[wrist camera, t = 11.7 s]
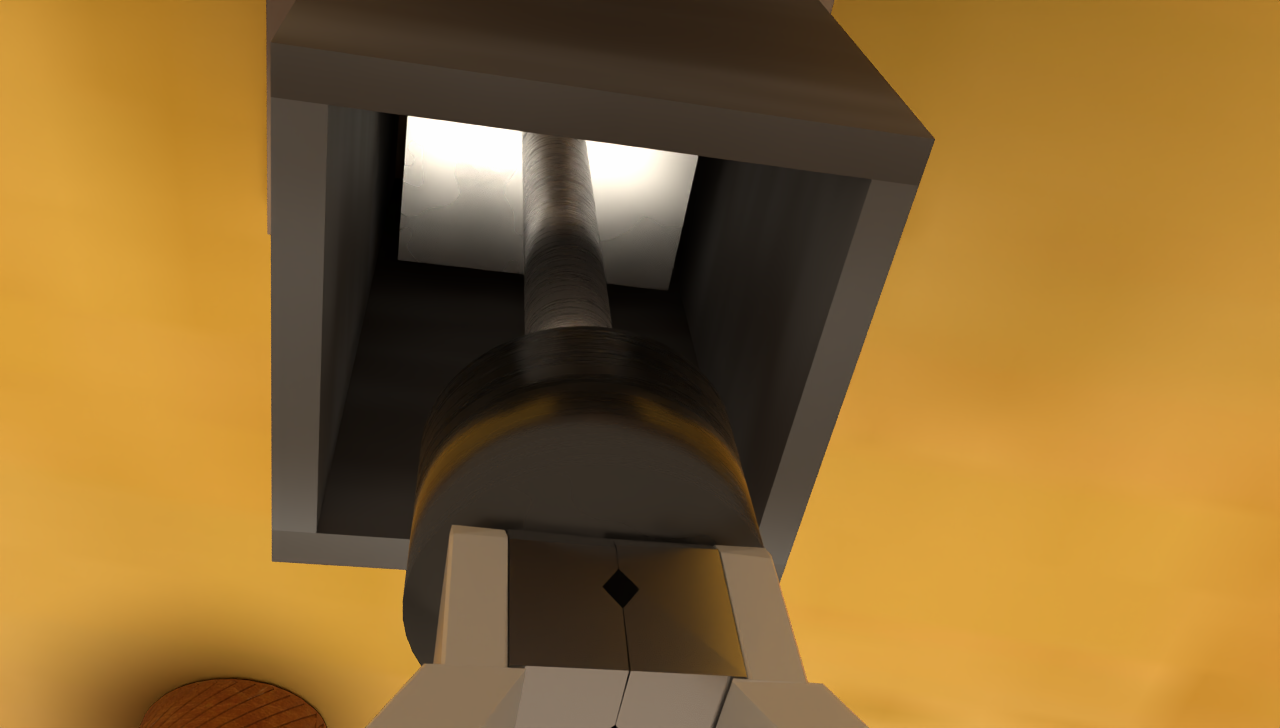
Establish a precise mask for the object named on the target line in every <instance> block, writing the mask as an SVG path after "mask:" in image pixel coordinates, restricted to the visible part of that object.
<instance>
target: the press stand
mask: <svg viewBox="0 0 1280 728" xmlns="http://www.w3.org/2000/svg"><path fill="white" fill-rule="evenodd" d="M833 4H834V0H266V20H267V226H268V234H270V235H271V415H272V561H273V562H289V563H305V564H321V565H337V566H353V567H369V568H385V569H401V570H407V561H408V552H409V544H410V535H411V527H412V518H413V509H414V501H415V492H416V484H417V475H418V466H419V458H420V449H421V442H422V436H423V431H424V427H425V424H426V421H427V418H428V415H429V413H430V411H431V409H432V407H433V405H434V403H435V401H436V400H437V398H438V396H439V395H440V393H441V392H442V391H443V389H444V388H445V387H446V386H447V384H448V383H449V382H450V381H451V380H452V379H453V378H454V377H455V376H456V375H457V374H458V373H459V372H460V371H461V370H462V369H463V368H464V367H465V366H467V365H468V364H469V363H471V362H472V361H473V360H475V359H476V358H477V357H478V356H480V355H482V354H483V353H485V352H487V351H489V350H490V349H492V348H494V347H496V346H497V345H500V344H502V343H505V342H507V341H509V340H512V339H514V338H516V337H519V336H523V335H525V313H524V274H517V273H508V272H499V271H491V270H482V269H473V268H464V267H455V266H446V265H438V264H429V263H420V262H411V261H402V260H398V249H399V235H400V220H401V206H402V191H403V177H404V162H405V148H406V133H407V119H408V116H413V117H420V118H427V119H435V120H442V121H449V122H457V123H464V124H471V125H478V126H486V127H493V128H500V129H508V130H515V131H522V132H529V133H537V134H544V135H551V136H559V137H566V138H573V139H580V140H588V141H595V142H602V143H610V144H617V145H624V146H632V147H639V148H646V149H653V150H661V151H668V152H675V153H683V154H690V155H697V156H698V160H697V164H696V169H695V173H694V178H693V182H692V187H691V191H690V195H689V200H688V204H687V209H686V213H685V217H684V222H683V226H682V231H681V235H680V240H679V244H678V248H677V253H676V257H675V262H674V266H673V270H672V275H671V279H670V284H669V288H668V291H667V290H658V289H650V288H641V287H632V286H623V285H614V284H606V286H607V293H608V300H609V307H610V314H611V321H612V328H614V329H620V330H625V331H629V332H632V333H636V334H639V335H643V336H646V337H648V338H651V339H653V340H656V341H658V342H660V343H663V344H665V345H666V346H668V347H670V348H672V349H673V350H675V351H677V352H678V353H680V354H682V355H683V356H684V357H685V358H687V359H688V360H689V361H691V362H692V363H693V364H694V365H696V366H697V367H698V368H699V369H700V370H701V372H702V373H703V374H704V375H705V376H706V377H707V378H708V379H709V380H710V382H711V383H712V385H713V386H714V387H715V389H716V390H717V392H718V393H719V395H720V398H721V400H722V402H723V404H724V406H725V408H726V411H727V415H728V418H729V421H730V425H731V429H732V432H733V436H734V439H735V443H736V447H737V450H738V454H739V458H740V461H741V465H742V469H743V472H744V476H745V480H746V483H747V487H748V491H749V494H750V498H751V502H752V505H753V509H754V513H755V516H756V520H757V524H758V527H759V531H760V535H761V538H762V542H763V546H764V548H765V549H766V550H767V551H768V552H769V553H770V555H771V556H772V559H773V563H774V566H775V570H776V573H777V577H778V580H779V583H780V580H781V577H782V574H783V572H784V569H785V566H786V563H787V560H788V557H789V555H790V552H791V549H792V546H793V543H794V540H795V537H796V535H797V532H798V529H799V526H800V523H801V520H802V517H803V515H804V512H805V509H806V506H807V503H808V500H809V497H810V495H811V492H812V489H813V486H814V483H815V480H816V477H817V475H818V472H819V469H820V466H821V463H822V460H823V457H824V455H825V452H826V449H827V446H828V443H829V440H830V437H831V435H832V432H833V429H834V426H835V423H836V420H837V418H838V415H839V412H840V409H841V406H842V403H843V400H844V398H845V395H846V392H847V389H848V386H849V383H850V380H851V378H852V375H853V372H854V369H855V366H856V363H857V360H858V358H859V355H860V352H861V349H862V346H863V343H864V340H865V338H866V335H867V332H868V329H869V326H870V323H871V320H872V318H873V315H874V312H875V309H876V306H877V303H878V300H879V298H880V295H881V292H882V289H883V286H884V283H885V281H886V278H887V275H888V272H889V269H890V266H891V263H892V261H893V258H894V255H895V252H896V249H897V246H898V243H899V241H900V238H901V235H902V232H903V229H904V226H905V223H906V221H907V218H908V215H909V212H910V209H911V206H912V203H913V201H914V198H915V195H916V192H917V189H918V186H919V183H920V181H921V178H922V175H923V172H924V169H925V166H926V163H927V161H928V158H929V155H930V152H931V149H932V146H933V144H934V141H935V139H934V137H933V136H932V135H931V134H930V133H929V131H928V130H927V129H926V128H925V127H924V125H923V124H922V123H921V122H920V121H919V119H918V118H917V117H916V116H915V115H914V113H913V112H912V111H911V110H910V109H909V107H908V106H907V105H906V104H905V103H904V101H903V100H902V99H901V98H900V97H899V95H898V94H897V93H896V92H895V91H894V89H893V88H892V87H891V86H890V85H889V84H888V82H887V81H886V80H885V79H884V78H883V76H882V75H881V74H880V73H879V72H878V70H877V69H876V68H875V67H874V66H873V64H872V63H871V62H870V61H869V60H868V58H867V57H866V56H865V55H864V54H863V52H862V51H861V50H860V49H859V48H858V46H857V45H856V44H855V43H854V42H853V40H852V39H851V38H850V37H849V36H848V34H847V33H846V32H845V31H844V30H843V28H842V27H841V26H840V25H839V24H838V22H837V21H836V20H835V19H834V18H833V16H832V15H831V11H832V7H833Z"/></svg>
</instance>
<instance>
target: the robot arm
mask: <svg viewBox="0 0 1280 728" xmlns="http://www.w3.org/2000/svg"><path fill="white" fill-rule="evenodd" d="M365 728H869V727H868V726H867V725H866V724H865V723H864V722H863V721H861V720H860V719H859V718H858V717H857V716H856V715H855V714H854V713H853V712H852V711H851V710H850V709H849V708H848V707H847V706H846V705H845V704H844V703H843V702H842V701H841V700H840V699H839V698H838V697H837V696H835V695H834V694H833V693H832V692H831V691H830V690H829V689H828V688H827V687H826V686H825V685H824V684H820V683H808V681H807V677H806V674H805V670H804V667H803V664H802V660H801V657H800V653H799V650H798V646H797V643H796V639H795V636H794V632H793V629H792V625H791V622H790V618H789V615H788V611H787V608H786V604H785V601H784V598H783V594H782V591H781V587H780V584H779V580H778V577H777V573H776V570H775V566H774V563H773V559H772V556H771V555H770V553H769V552H768V551H767V550H766V549H765V548H757V547H740V546H723V545H714V546H713V547H712V546H710V545H698V544H682V543H667V542H652V541H637V540H621V539H605V538H594V537H584V536H574V535H564V534H553V533H543V532H533V531H523V530H512V529H508V530H507V532H506V531H505V530H500V529H490V528H480V527H470V526H461V525H452V527H451V530H450V534H449V541H448V549H447V557H446V564H445V572H444V580H443V587H442V595H441V603H440V610H439V619H438V627H437V636H436V644H435V653H434V661H433V664H423V665H422V666H421V667H420V668H419V669H418V671H417V672H416V673H415V674H414V675H413V676H412V677H411V678H410V679H409V680H408V681H407V683H406V684H405V685H404V686H403V687H402V688H401V689H400V690H399V691H398V692H397V693H396V694H395V696H394V697H393V698H392V699H391V700H390V701H389V702H388V703H387V704H386V705H385V706H384V708H383V709H382V710H381V711H380V712H379V713H378V714H377V715H376V716H375V717H374V718H373V720H372V721H371V722H370V723H369V724H368V725H367V726H366V727H365Z"/></svg>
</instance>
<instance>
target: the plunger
mask: <svg viewBox="0 0 1280 728" xmlns="http://www.w3.org/2000/svg"><path fill="white" fill-rule="evenodd" d="M697 160H698V156H697V155H690V154H683V153H675V152H668V151H661V150H653V149H646V148H639V147H632V146H624V145H617V144H610V143H602V142H595V141H588V140H580V139H573V138H566V137H559V136H551V135H544V134H537V133H529V132H522V131H515V130H508V129H500V128H493V127H486V126H478V125H471V124H464V123H457V122H449V121H442V120H435V119H427V118H420V117H413V116H408V119H407V133H406V148H405V162H404V177H403V191H402V206H401V220H400V235H399V249H398V260H402V261H411V262H420V263H429V264H438V265H446V266H455V267H464V268H473V269H482V270H491V271H499V272H508V273H517V274H524V313H525V335H523V336H519V337H516V338H514V339H512V340H509V341H507V342H505V343H502V344H500V345H497V346H496V347H494V348H492V349H490V350H489V351H487V352H485V353H483V354H482V355H480V356H478V357H477V358H476V359H475V360H473V361H472V362H471V363H469V364H468V365H467V366H465V367H464V368H463V369H462V370H461V371H460V372H459V373H458V374H457V375H456V376H455V377H454V378H453V379H452V380H451V381H450V382H449V383H448V384H447V386H446V387H445V388H444V389H443V391H442V392H441V393H440V395H439V396H438V398H437V400H436V401H435V403H434V405H433V407H432V409H431V411H430V413H429V415H428V418H427V421H426V424H425V427H424V431H423V436H422V442H421V449H420V458H419V466H418V475H417V484H416V492H415V501H414V509H413V518H412V527H411V535H410V544H409V552H408V561H407V570H406V578H405V587H404V595H403V622H404V627H405V632H406V636H407V639H408V641H409V644H410V647H411V649H412V652H413V653H414V655H415V656H416V658H417V660H418V661H419V663H420V665H421V666H422V665H423V664H433V661H434V653H435V644H436V636H437V627H438V619H439V610H440V603H441V595H442V587H443V580H444V572H445V564H446V557H447V549H448V541H449V534H450V530H451V527H452V525H461V526H470V527H480V528H490V529H500V530H505V531H506V532H507V530H508V529H512V530H523V531H533V532H543V533H553V534H564V535H574V536H584V537H594V538H605V539H621V540H637V541H652V542H667V543H682V544H698V545H710V546H712V547H713V546H714V545H723V546H740V547H757V548H764V546H763V542H762V538H761V535H760V531H759V527H758V524H757V520H756V516H755V513H754V509H753V505H752V502H751V498H750V494H749V491H748V487H747V483H746V480H745V476H744V472H743V469H742V465H741V461H740V458H739V454H738V450H737V447H736V443H735V439H734V436H733V432H732V429H731V425H730V421H729V418H728V415H727V411H726V408H725V406H724V404H723V402H722V400H721V398H720V395H719V393H718V392H717V390H716V389H715V387H714V386H713V385H712V383H711V382H710V380H709V379H708V378H707V377H706V376H705V375H704V374H703V373H702V372H701V370H700V369H699V368H698V367H697V366H696V365H694V364H693V363H692V362H691V361H689V360H688V359H687V358H685V357H684V356H683V355H682V354H680V353H678V352H677V351H675V350H673V349H672V348H670V347H668V346H666V345H665V344H663V343H660V342H658V341H656V340H653V339H651V338H648V337H646V336H643V335H639V334H636V333H632V332H629V331H625V330H620V329H614V328H612V321H611V314H610V307H609V300H608V293H607V286H606V284H614V285H623V286H632V287H641V288H650V289H658V290H667V291H668V288H669V284H670V279H671V275H672V270H673V266H674V262H675V257H676V253H677V248H678V244H679V240H680V235H681V231H682V226H683V222H684V217H685V213H686V209H687V204H688V200H689V195H690V191H691V187H692V182H693V178H694V173H695V169H696V164H697Z"/></svg>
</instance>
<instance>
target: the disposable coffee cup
mask: <svg viewBox="0 0 1280 728" xmlns="http://www.w3.org/2000/svg"><path fill="white" fill-rule="evenodd" d="M139 728H327V727H326V725H325V723H324V721H323V719H322V718H321V716H320V715H319V714H318V712H317V711H316V710H315V709H314V708H312V707H311V706H310V705H309V704H307V703H306V702H305V701H304V700H302V699H301V698H299V697H297V696H296V695H294V694H292V693H290V692H288V691H286V690H283V689H280V688H278V687H275V686H272V685H269V684H264V683H259V682H254V681H249V680H239V679H214V680H208V681H202V682H195V683H192V684H189V685H186V686H183V687H180V688H177V689H175V690H173V691H171V692H169V693H167V694H165V695H164V696H163V697H162V698H160V699H159V700H158V701H157V702H156V703H154V704H153V705H152V706H151V707H150V709H149V710H148V711H147V713H146V714H145V716H144V718H143V721H142V723H141V725H140V727H139Z"/></svg>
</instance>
